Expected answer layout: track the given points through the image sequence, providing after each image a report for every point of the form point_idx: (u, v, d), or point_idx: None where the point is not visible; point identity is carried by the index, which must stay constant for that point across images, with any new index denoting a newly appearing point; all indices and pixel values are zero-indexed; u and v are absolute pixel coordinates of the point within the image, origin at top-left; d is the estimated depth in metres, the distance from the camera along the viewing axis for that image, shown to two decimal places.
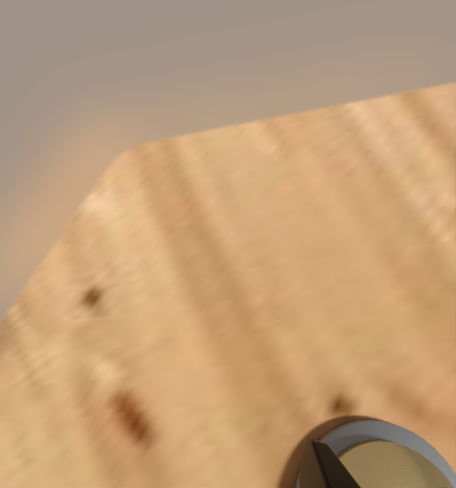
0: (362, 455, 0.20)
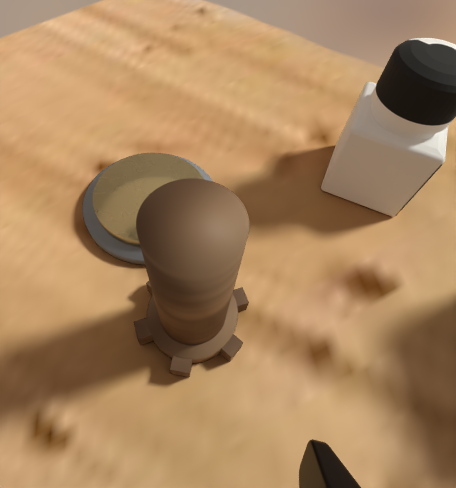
0: (114, 168, 0.27)
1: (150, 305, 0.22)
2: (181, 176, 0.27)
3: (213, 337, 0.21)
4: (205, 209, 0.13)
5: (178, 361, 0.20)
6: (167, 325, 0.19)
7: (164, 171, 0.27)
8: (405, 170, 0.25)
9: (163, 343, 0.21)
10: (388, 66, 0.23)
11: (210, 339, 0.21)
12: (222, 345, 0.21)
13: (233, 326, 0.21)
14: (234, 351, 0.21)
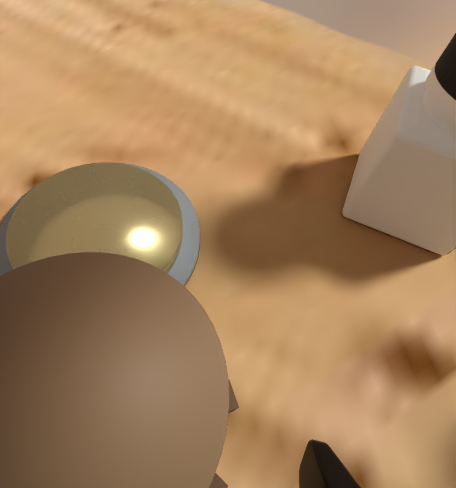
0: (47, 185, 0.19)
1: None
2: (145, 197, 0.19)
3: None
4: (107, 349, 0.05)
5: None
6: None
7: (120, 190, 0.19)
8: None
9: None
10: None
11: None
12: None
13: None
14: None
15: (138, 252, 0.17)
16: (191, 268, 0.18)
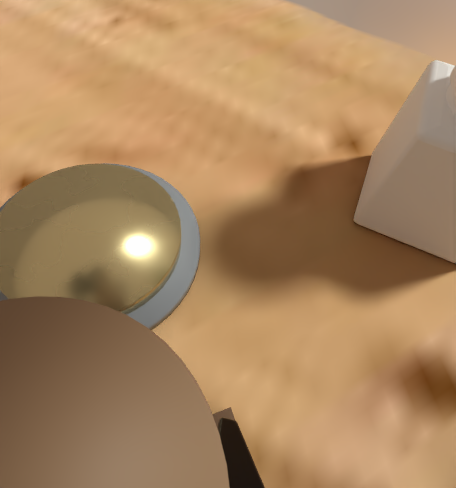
0: (34, 188, 0.17)
1: None
2: (140, 202, 0.17)
3: None
4: (55, 450, 0.03)
5: None
6: None
7: (114, 193, 0.17)
8: None
9: None
10: None
11: None
12: None
13: None
14: None
15: (132, 263, 0.16)
16: (190, 280, 0.17)
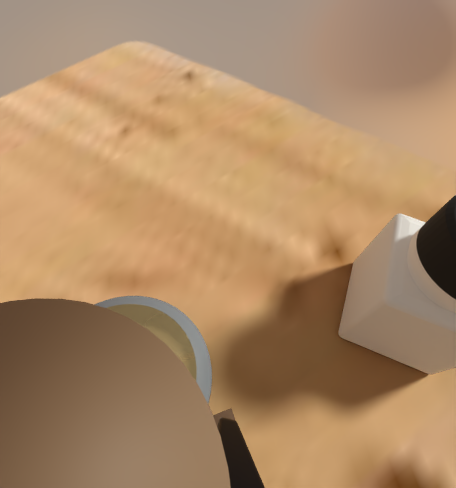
0: None
1: None
2: None
3: None
4: (54, 454, 0.03)
5: None
6: None
7: None
8: (454, 347, 0.19)
9: None
10: (438, 232, 0.17)
11: None
12: None
13: None
14: None
15: None
16: None
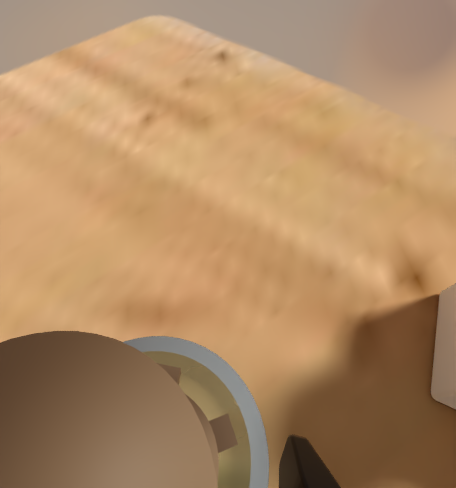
0: None
1: None
2: (201, 409, 0.15)
3: None
4: (74, 464, 0.04)
5: None
6: None
7: None
8: None
9: None
10: None
11: None
12: None
13: None
14: None
15: None
16: None
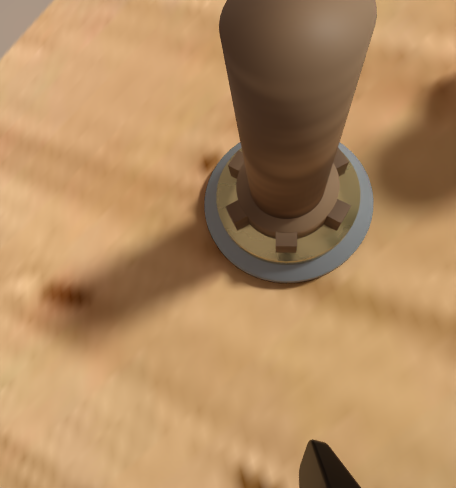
0: None
1: (238, 186, 0.20)
2: None
3: (316, 205, 0.18)
4: None
5: (282, 236, 0.18)
6: (266, 196, 0.17)
7: None
8: None
9: (262, 221, 0.19)
10: None
11: (313, 208, 0.19)
12: (327, 212, 0.18)
13: (336, 190, 0.19)
14: (343, 216, 0.18)
15: None
16: (371, 213, 0.21)
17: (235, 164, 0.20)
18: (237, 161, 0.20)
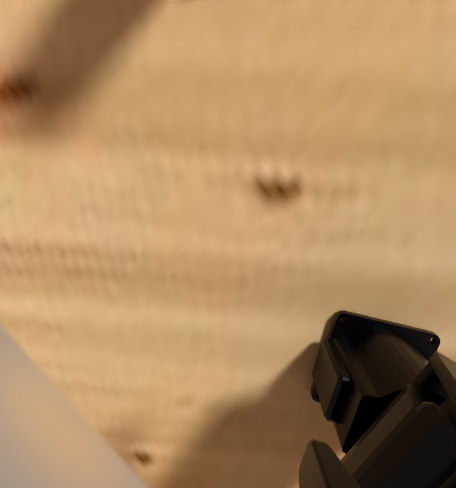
0: None
1: None
2: None
3: None
4: None
5: None
6: None
7: None
8: None
9: None
10: None
11: None
12: None
13: None
14: None
15: None
16: None
17: None
18: None
